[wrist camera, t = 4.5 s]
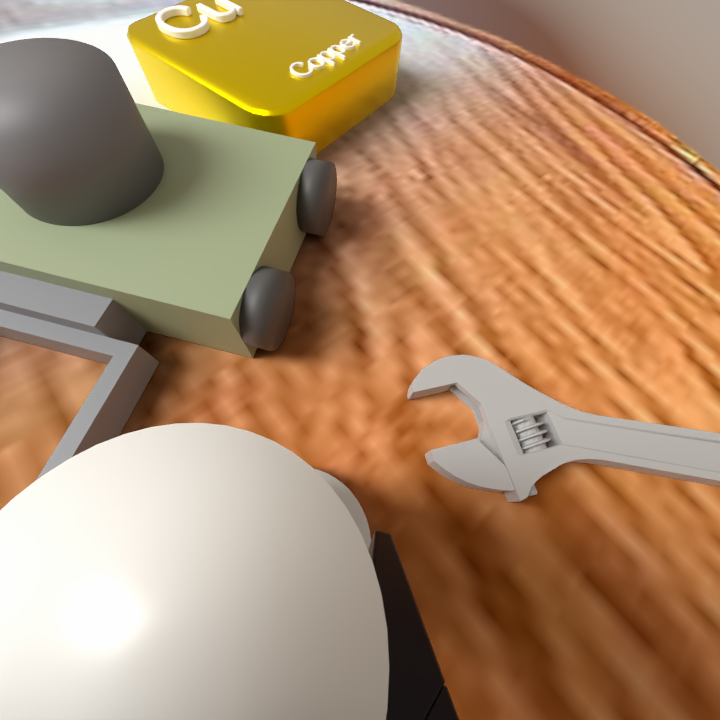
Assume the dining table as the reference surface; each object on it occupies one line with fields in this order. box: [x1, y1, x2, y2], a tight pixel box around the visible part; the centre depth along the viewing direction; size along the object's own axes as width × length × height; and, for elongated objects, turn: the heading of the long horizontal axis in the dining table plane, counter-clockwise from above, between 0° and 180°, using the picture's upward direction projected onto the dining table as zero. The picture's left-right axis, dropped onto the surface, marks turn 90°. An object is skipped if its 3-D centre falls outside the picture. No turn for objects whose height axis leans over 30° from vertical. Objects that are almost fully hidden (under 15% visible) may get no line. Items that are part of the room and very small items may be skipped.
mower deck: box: [0, 38, 337, 480], centre depth 15 cm, size 24×22×8 cm
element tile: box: [127, 0, 402, 154], centre depth 26 cm, size 15×15×5 cm
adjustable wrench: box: [407, 355, 720, 502], centre depth 16 cm, size 25×6×2 cm, turn 77°
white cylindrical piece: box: [0, 423, 389, 720], centre depth 9 cm, size 6×6×12 cm
